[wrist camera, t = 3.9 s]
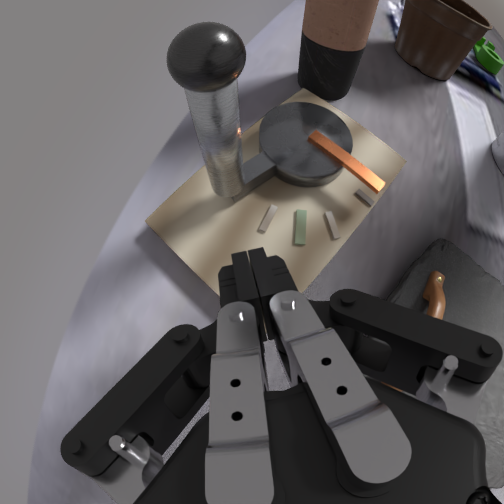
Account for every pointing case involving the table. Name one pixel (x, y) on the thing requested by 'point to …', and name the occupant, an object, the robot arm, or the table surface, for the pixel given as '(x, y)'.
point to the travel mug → (333, 44)
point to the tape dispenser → (488, 56)
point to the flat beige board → (274, 211)
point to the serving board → (468, 316)
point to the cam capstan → (271, 128)
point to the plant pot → (439, 35)
